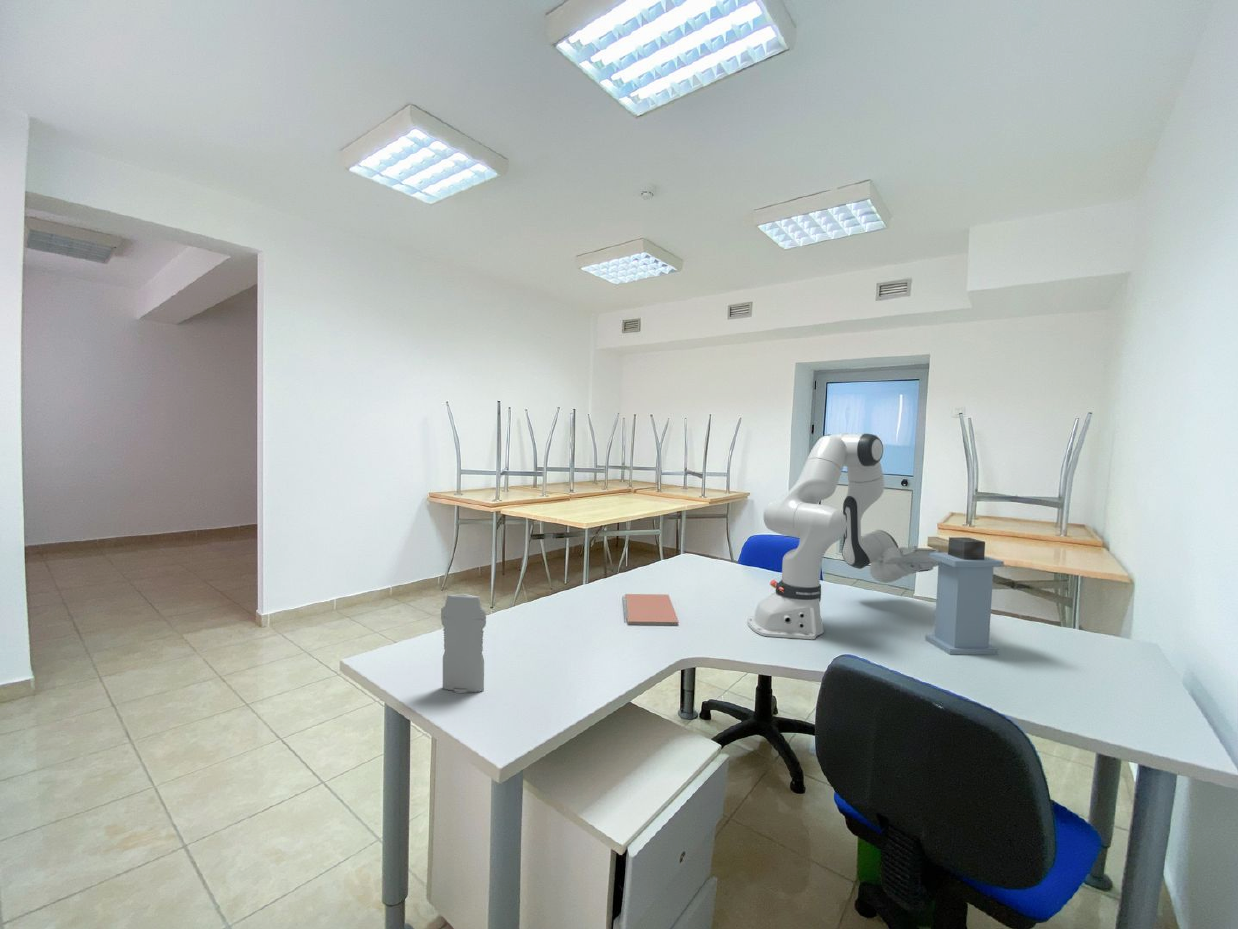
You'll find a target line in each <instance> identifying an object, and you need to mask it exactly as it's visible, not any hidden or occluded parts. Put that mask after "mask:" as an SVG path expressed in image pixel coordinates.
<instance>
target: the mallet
mask: <svg viewBox="0 0 1238 929" xmlns="http://www.w3.org/2000/svg"><path fill="white" fill-rule="evenodd" d="M926 546H927V547H928V548H934V549H937V550H940V551H944V552H947V553H948V555H951V556H954V557H957V558H960V559H963V560H984V556H986V555H985V553H986V541H983V540H980V539H977V538H976V539H975V538H972V537H961V536H958V537H956V536H955V537H953V536H952V537H950V536H949V537H948V539H946V538H944V537H939V536H927V544H926Z"/></svg>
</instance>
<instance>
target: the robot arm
mask: <svg viewBox="0 0 1238 929" xmlns="http://www.w3.org/2000/svg"><path fill="white" fill-rule="evenodd" d="M883 456H884V446H883V442H882V440H881V439H880V438H879V437H878V436H877V435H875V434H872V433H848V432H847V433H846V432H845V433H843V432H841V433H836V434H835V433H834V434H824V435H822V436H819V437H818V438H817V439H816V441H815V442H814V445H813V447H812V448H811V451H810V452H809V454H808V457H807V459H806V461H805V463H804V466H803V468H802V470H801V473H800V475H799V477H798V479H797V481H796V483H795V484H794V485H793V486H792V487H791V488H790V489H789V490H788V491H787V492H786V493H785V494H784V495H782V496H781V497H779V498H777V499H775V500H773V501H771V502H769V503H768V504H767V505H766V507H765V508H764V511H763V523H764V525H765V526H766V528H767V529H768V530H769V531H771V532H774V533H777V534H779V535H780V536H781V535H782V536H788V537H793V538H798V539H799V541H798V545H797V548H792V549H791V550H788V551H787V552H786V553H785V554H784V556H783V557H782V565H781V579H780V580H779V581H778V582H777V581H776V580H775V579H773V580H771V581H770V583H769V585H770V587H772V588H774V589H775V592H774V593H772V594H770V595H769V596H768V597H766V598H764V599H763V600H762V601H760V602H758V603H757V606H756V609H755V613H754V616H749V617H748V618H747V625H748V627H749V628H751V630H752V631H753V632H755V633H756V634H758V635H761V636H764V637H775V638H786V639H787V638H789V639H800V640H801V639H804V640H815V639H816V638H817V636H819V635H822V634H823V633H824V631H825V630H824V626H823V623H822V616H821V605H820V604H821V599H822V585H821V571H822V564H823V558H824V557H825V554H826V553H827V551H828V549H829V548H830V547H831V546H832V545H833V544H835V543H837V542H838V541H840V540H841V539H842V538H843V540H842V546H841V556H842V559H843V560H844V562H845V563H846V564H847V565H848V566H850V567H852V568H855V569H858V570H862V569H863V568H866V567H867V566H869V565H870V567H869V573H870V576H871V577H872V578H873V579H874V580H875V581H877V582H879V583H883V584H884V583H885V584H887V583H893V582H896V581H899V580H901V579H902V578H904V577H908V576H909V575H914V574H916V573H923V572H929V571H932V570H934V567H938V563H939V561H937V560H934V559H931V558H930V553H947V552H944V551H940V550H937V549H934V548H931V547H928V548H927V547H922V548H921V547H918V546H915V545H911V546H908V547H904V546H901V547H899V546H898V543H897V541H896V540H895V538H894V537H893V536H892V535H891V534H890V533H889V532H887V531H884V530H881V529H876V530H874V531H871V532H868V533H866V534H865V535H862V530H861V529H862V523H861V522H862V521H861V520H862V517H863V516H864V513H866V511H867V510H868V509H869V508H870V507H871V506H872V505H873V504H874V503H875V502H877V501H878V500H879V499H880V498H881V497H882V495H883V493H884V490H885V479H884V474H883V469H882V464H881V460H882V458H883ZM844 467H846V473H847V474H846V476H847V481H848V489H847V494H846V497H845V498H844V501H843V503H842V511H841V510H840V509H838V508H835V507H832V506H830V505H826V504H819V502H821V501H824V500H826V499H830V497H831V496H832V495H833V494H834V493H835V491H836V489H837V485H838V483H839V481H840V478H841V475H842V472H843V469H844Z"/></svg>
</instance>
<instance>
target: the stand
mask: <svg viewBox="0 0 1238 929" xmlns="http://www.w3.org/2000/svg"><path fill="white" fill-rule="evenodd" d="M930 558H931V559H934V560H937V561H939V563H938V566H937V584H936V602H935V603H936V606H935V619H934V620H935V622H934V634H925V638H924V639H925V641H926V642H927V643H929V642H930V643H929V644H931V645H933V644H934V645H935V646H934V645H933V646H934V647H936V646H937V647H936V648H938V649H939V648H940V650H942V651H943V650H944V651H945V653H946V652H947V653H946V654H948V655H949V654H950V655H951V656H952V655H954V654H963V655H965V654H967V655H968V654H969V655H970V654H971V655H999V648H997V647H995V646H993V645H991V644H990V633H991V632H990V631H991V630H990V629H991V613H992V601H993V600H992V596H993V583H994V568H996V567H997V568H1003V567H1004V564H1005V561H1003V560H1000V559H997V558H994V557H990V556H987V555H984V560H963V559H960V558H957V557H954V556H951V555H948V553H930ZM944 651H943V652H944ZM963 655H962V656H963ZM954 656H955V655H954ZM965 656H966V655H965Z"/></svg>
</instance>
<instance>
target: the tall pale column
mask: <svg viewBox="0 0 1238 929" xmlns="http://www.w3.org/2000/svg"><path fill="white" fill-rule="evenodd" d="M440 620H441V625H442V626H443V629H442V630H443V647H444V648H443V650H444V652H443V654H442V655H443V656H442V690H444V689H445V690H446V691H450V690H451V692H455V693H456V694H465V693H481V692H484V691H485V658H484V655H483V651H484V646H483V644H484V633H485V631H484V630H483V629H484V628H485V627H486V624H487V610H485V609H484V608H483V606H482V601H481V597H480V596H478V595H472V594H467V593H457V594H447V596H446V600H445V603H444V606H443V607H442V608H441V609H440Z"/></svg>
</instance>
